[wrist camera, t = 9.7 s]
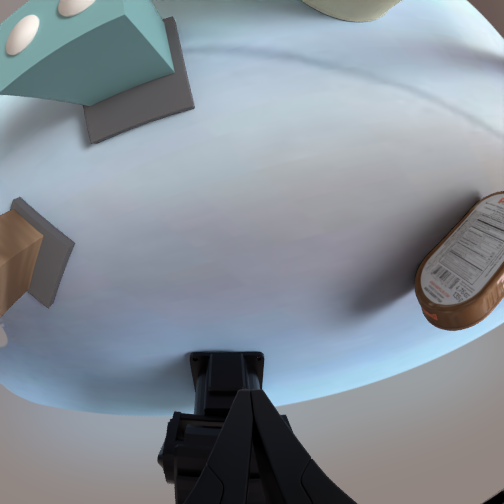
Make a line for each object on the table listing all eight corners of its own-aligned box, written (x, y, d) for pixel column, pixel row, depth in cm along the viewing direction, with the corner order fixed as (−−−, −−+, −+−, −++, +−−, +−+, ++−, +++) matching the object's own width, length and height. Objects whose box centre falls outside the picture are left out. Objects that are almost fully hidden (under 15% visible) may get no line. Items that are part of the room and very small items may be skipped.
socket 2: (194, 108, 16) (192, 106, 15) (97, 143, 16) (91, 143, 15) (175, 21, 13) (172, 16, 12) (82, 59, 13) (76, 57, 12)
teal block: (174, 72, 14) (123, 12, 5) (90, 106, 14) (-5, 94, 5) (164, 23, 12) (117, -52, 4) (83, 58, 12) (-2, 23, 4)
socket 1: (75, 243, 18) (69, 247, 17) (53, 302, 20) (48, 308, 19) (19, 196, 16) (13, 199, 15) (4, 260, 18) (-2, 264, 17)
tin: (406, 298, 23) (456, 354, 15) (394, 277, 22) (450, 334, 14) (495, 202, 20) (553, 228, 12) (489, 177, 19) (551, 200, 11)
